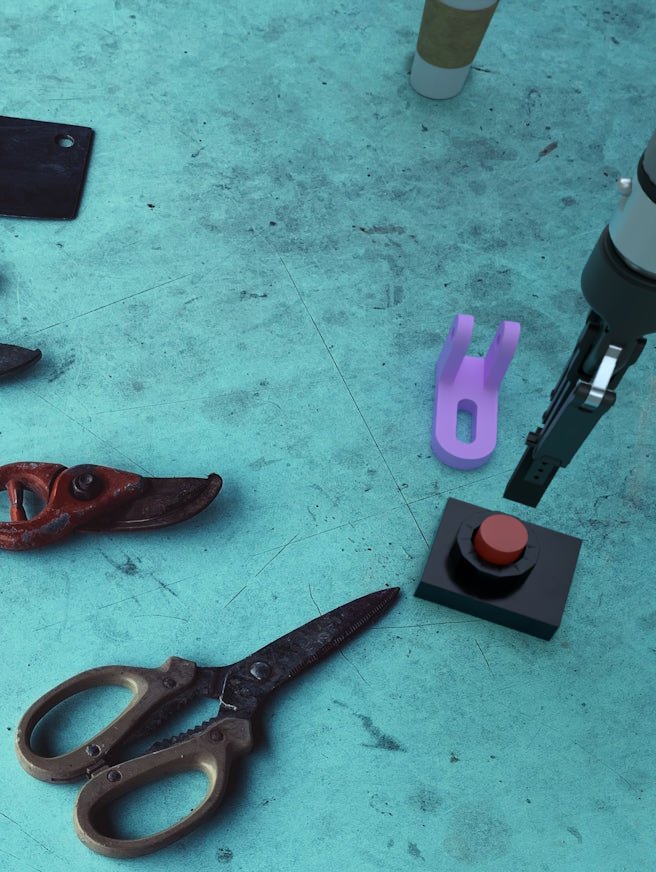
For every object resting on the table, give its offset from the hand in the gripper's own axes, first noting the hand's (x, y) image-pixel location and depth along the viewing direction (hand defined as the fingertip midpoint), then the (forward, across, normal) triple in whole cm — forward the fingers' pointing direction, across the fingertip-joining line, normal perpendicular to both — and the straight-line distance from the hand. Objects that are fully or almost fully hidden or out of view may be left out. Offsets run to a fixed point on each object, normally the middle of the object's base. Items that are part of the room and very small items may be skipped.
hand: (520, 496), depth 96 cm
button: (+6, 0, 0) cm, 6 cm away
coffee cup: (+10, -65, -21) cm, 69 cm away
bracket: (+10, -17, -6) cm, 21 cm away
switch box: (+10, 0, +1) cm, 10 cm away
